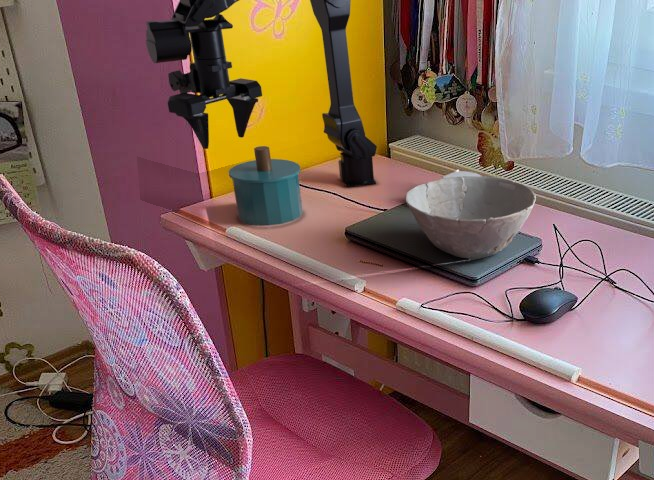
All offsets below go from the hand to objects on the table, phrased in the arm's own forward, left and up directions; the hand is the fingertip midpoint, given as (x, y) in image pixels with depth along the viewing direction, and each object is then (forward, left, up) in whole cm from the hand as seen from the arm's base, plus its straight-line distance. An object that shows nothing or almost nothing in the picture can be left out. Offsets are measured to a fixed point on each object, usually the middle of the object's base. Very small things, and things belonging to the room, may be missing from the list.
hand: (223, 142), depth 166 cm
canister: (-6, +8, -13) cm, 16 cm away
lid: (-6, +8, -4) cm, 11 cm away
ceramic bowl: (-37, +38, -13) cm, 55 cm away
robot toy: (-42, +13, -13) cm, 46 cm away
